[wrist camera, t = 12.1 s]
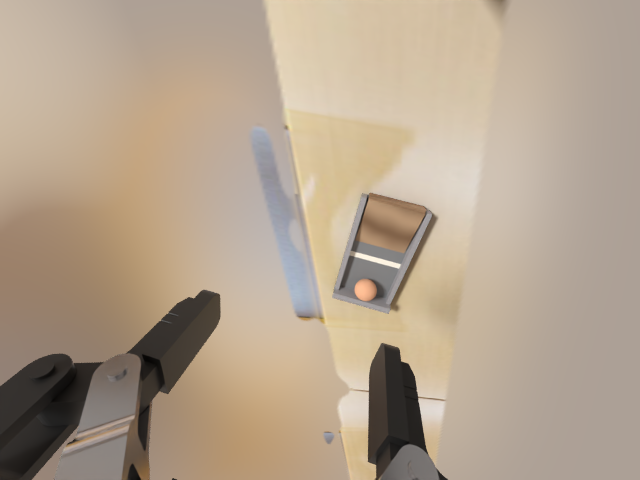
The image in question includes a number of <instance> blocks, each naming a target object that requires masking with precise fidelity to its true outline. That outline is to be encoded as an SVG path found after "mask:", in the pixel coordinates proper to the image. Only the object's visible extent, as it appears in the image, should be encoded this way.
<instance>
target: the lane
mask: <svg viewBox="0 0 640 480" xmlns="http://www.w3.org/2000/svg"><path fill="white" fill-rule="evenodd" d="M368 197H369V195H367V194H363V193H362V196H361V199H360V203H359V206H358V210H357V213H356V216H355V220H354V223H353V226H352V230H351V233H350V237H349V240H348V243H347V247H346V250H345V254H344V257H343V260H342V264H341V267H340V271H339V274H338V277H337V281H336V284H335V287H334V292H333V297H332V298H335V299H339V300H342V301H345V302H349V303H352V304H356V305H359V306H363V307H366V308H370V309H373V310H377V311H380V312H384V313H387V314H389V311H390V304H391V302H392V300H393V298H394V295H395V293H396V291H397V289H398V287H399V285H400V283H401V281H402V278H403V276H404V274H405V272H406V270H407V268H408V266H409V264H410V261H411V259H412V257H413V255H414V253H415V251H416V249H417V247H418V244H419V242H420V240H421V238H422V236H423V234H424V232H425V230H426V227H427V225H428V223H429V221H430V219H431V217H432V213H431V211H430V210H426V212H425V216H424V218H423V220H422V221H421V223H420V225H419V227H418V229H417V230H416V232H415V234H414V236H413V238H412V240H411V241H410V243H409V245H408V247H407V249H406V251H405V252H404V253H401V252H397V251H393V250H390V249H386V248H382V247H378V246H375V245H371V244H367V243H364V242H360V241H356V240H355V239H356V236H357V233H358V230H359V226H360V223H361V220H362V217H363V214H364V210H365V207H366V204H367V201H368ZM361 279H369V280H371V281H373V282H374V284H375V285H376V288H377V293H376V296H375V297H374V298H373V299H372V300H370V301H362V300H360V299H359V298H358V297H357V296H356V294H355V285H356V283H357V282H358V281H359V280H361Z"/></svg>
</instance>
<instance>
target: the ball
mask: <svg viewBox="0 0 640 480" xmlns="http://www.w3.org/2000/svg"><path fill="white" fill-rule="evenodd" d="M376 293H377V288H376V285H375V284H374V282H373V281H371V280H369V279H361V280H359V281H358V282H357V283H356V285H355V294H356V296H357V297H358V298H359V299H360V300H362V301H370V300H372V299H373V298H374V297H375V296H376Z"/></svg>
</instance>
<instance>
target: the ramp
mask: <svg viewBox="0 0 640 480" xmlns="http://www.w3.org/2000/svg"><path fill="white" fill-rule="evenodd" d="M425 212H426V209H425V207H424V206H420V205H416V204H413V203H409V202H405V201H401V200H397V199H393V198H389V197H385V196H381V195H377V194H373V193H370V194H369V197H368V201H367V204H366V207H365V210H364V214H363V217H362V220H361V223H360V226H359V230H358V233H357V236H356V239H355V240H356V241H360V242H364V243H367V244H371V245H375V246H378V247H382V248H386V249H390V250H393V251H397V252H401V253H404V252H405V251H406V249H407V247H408V245H409V243H410V241H411V240H412V238H413V236H414V234H415V232H416V230H417V229H418V227H419V225H420V223H421V221H422V220H423V218H424V216H425Z"/></svg>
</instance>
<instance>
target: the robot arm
mask: <svg viewBox="0 0 640 480" xmlns="http://www.w3.org/2000/svg"><path fill="white" fill-rule="evenodd" d="M219 320H220V295H219V294H217V293H214V292H211V291H207V290H202V291H201V292H200V293H199V294H198V295H197V296H196V297H195V298H194V299H193V298H190V297H188V298H187V299H185V300H183V301H181V302H179V303H177V304H176V306H174V307H173V308H172V309H171V310H170V311H169V313H168V314H166V315H165V317H163V318H162V320H161V321H159V323H157V324H156V325H155V326H154V327H153V328H152V329H151V330H150V331H149V332H148V333H147V334H146V335H145V336H144V337H143V338H142V339H141V340H140V341H139V342H138V343H137V344H136V345H135V346H134V347H133V348H132V349H131V350H130V351H128V352H127V353H126V354H120V355H117V356H114V357H112V358H110V359H108V360H106V361H105V362H100V363H73V361H72V359H71V358H70V357H69V356H68V355H65V354H52V355H48V356H45V357H42V358H39V359H38V360H35V361H33V362H32V363H30V364H28V365H27V366H26V367H24V368H23V369H22V370H20V371H19V372H18V373H17V374H15V375H14V376H13V377H12V378H10V379H9V380H8V381H7V382H5V383H4V384H3V385H2V386H0V480H32V479H33V477H34V476H35V475H36V474H37V473H38V472H39V470H40V469H41V468H42V467H43V466H44V465H45V464H46V462H47V461H48V460H49V459H50V458H51V457H52V456H53V454H54V453H55V452H56V451H57V450H58V449H59V447H60V446H61V445H62V444H63V443H64V442H65V440H66V439H67V438H68V437H69V436H70V435H71V434H72V433H73V431H74V430H75V429H76V428H77V427H78V426H79V427H78V431H77V434H76V437H75V439H74V440H73V441H72V442H70V443H68V444H67V445H66V447H65V448H64V450H63V453H62V455H61V458H60V462H59V464H58V468H57V471H56V474H55V478H54V480H150V466H149V441H150V428H151V427H150V426H151V414H152V400H153V398H154V397H155V396H156V394H157V393H158V392H159V391H161V392H163V393H167V394H168V393H169V392H170V391H171V389H172V388H173V386H174V385H175V384H176V382H177V381H178V379H179V378H180V377H181V375H182V374H183V373H184V371H185V370H186V368H187V367H188V365H189V364H190V363H191V361H192V360H193V359H194V357H195V356H196V354H197V353H198V352H199V350H200V349H201V347H202V346H203V345H204V343H205V342H206V341H207V339H208V338H209V337H210V335H211V334H212V332H213V331H214V329H215V328H216V326H217V325H218V322H219ZM416 390H417V387H416V381H415V376H414V374H413V372H412V370H411V368H410V366H409V364H408V363H404V362H401V357H400V350H399V348H398V347H394V346H391V345H388V344H384V343H382V344H381V345H380V347H379V349H378V351H377V353H376V355H375V357H374V359H373V361H372V364H371V367H370V374H369V427H368V462H369V463H372V464H375V465H376V478H375V480H448V479H446V478H445V477H444V476H443V475H442V474H441V473H440V472H439V471H438V470H437V468H436V467H435V465H434V463H433V461H432V460H431V458H430V457H429V455H428V452H427V449H426V445H425V439H424V433H423V426H422V420H421V413H420V407H419V403H418V394H417V391H416ZM172 480H176V479H174V478H173V479H172Z"/></svg>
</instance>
